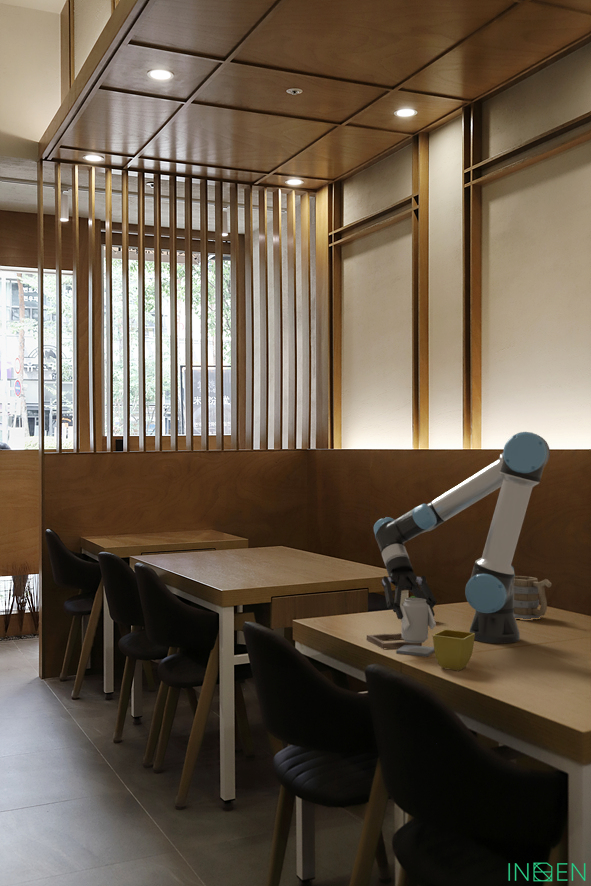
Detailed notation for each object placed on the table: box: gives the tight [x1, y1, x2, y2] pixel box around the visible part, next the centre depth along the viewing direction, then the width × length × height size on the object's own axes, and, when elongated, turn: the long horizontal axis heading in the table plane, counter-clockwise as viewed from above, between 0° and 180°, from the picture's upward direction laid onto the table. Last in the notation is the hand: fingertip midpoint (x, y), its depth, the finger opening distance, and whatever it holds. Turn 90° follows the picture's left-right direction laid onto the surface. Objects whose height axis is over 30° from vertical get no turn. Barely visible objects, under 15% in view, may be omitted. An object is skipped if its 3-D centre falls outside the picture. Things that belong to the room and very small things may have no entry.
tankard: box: [514, 575, 553, 619], centre depth 290 cm, size 20×13×15 cm, turn 25°
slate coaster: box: [395, 645, 435, 657], centre depth 236 cm, size 9×9×1 cm
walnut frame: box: [366, 632, 423, 650], centre depth 247 cm, size 12×12×2 cm
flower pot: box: [432, 629, 475, 672], centre depth 218 cm, size 9×9×9 cm
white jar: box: [401, 597, 429, 644], centre depth 236 cm, size 8×8×12 cm
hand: (420, 627), depth 233 cm, fingers closed on white jar, 7 cm apart
